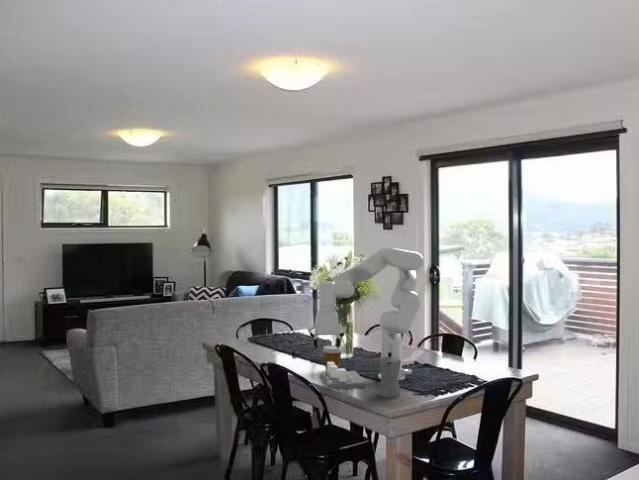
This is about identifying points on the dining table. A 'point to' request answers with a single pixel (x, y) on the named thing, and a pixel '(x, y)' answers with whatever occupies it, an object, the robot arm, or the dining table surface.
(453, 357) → the dining table surface
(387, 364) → the coffeepot
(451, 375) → the dining table surface
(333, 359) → the disposable coffee cup
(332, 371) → the breaker
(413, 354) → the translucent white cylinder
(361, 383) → the grey flat slab
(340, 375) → the breaker
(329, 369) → the breaker
